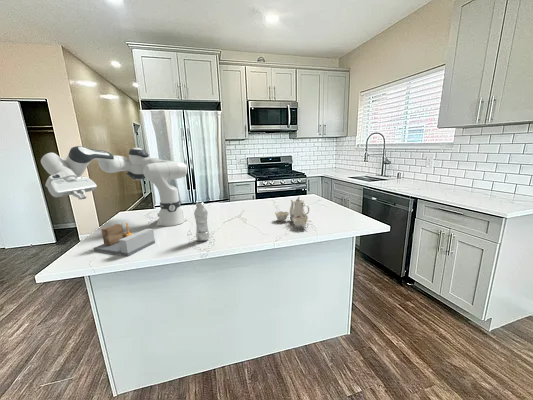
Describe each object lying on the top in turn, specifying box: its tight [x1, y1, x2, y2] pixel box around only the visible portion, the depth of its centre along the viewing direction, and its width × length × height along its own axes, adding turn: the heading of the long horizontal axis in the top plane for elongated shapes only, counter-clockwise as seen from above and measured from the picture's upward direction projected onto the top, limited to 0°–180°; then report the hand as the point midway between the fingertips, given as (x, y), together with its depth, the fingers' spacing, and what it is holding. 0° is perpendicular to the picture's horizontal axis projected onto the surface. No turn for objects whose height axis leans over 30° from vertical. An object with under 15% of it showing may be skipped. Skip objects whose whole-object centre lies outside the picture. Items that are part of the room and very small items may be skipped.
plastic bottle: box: [193, 201, 210, 242], centre depth 124 cm, size 6×7×20 cm
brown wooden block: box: [101, 223, 132, 245], centre depth 124 cm, size 4×12×8 cm, turn 160°
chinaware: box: [274, 196, 310, 230], centre depth 147 cm, size 28×17×17 cm, turn 38°
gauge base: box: [93, 228, 156, 257], centre depth 120 cm, size 22×16×8 cm
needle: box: [125, 222, 133, 237], centre depth 127 cm, size 2×3×8 cm, turn 160°
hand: (83, 198), depth 123 cm, fingers closed
